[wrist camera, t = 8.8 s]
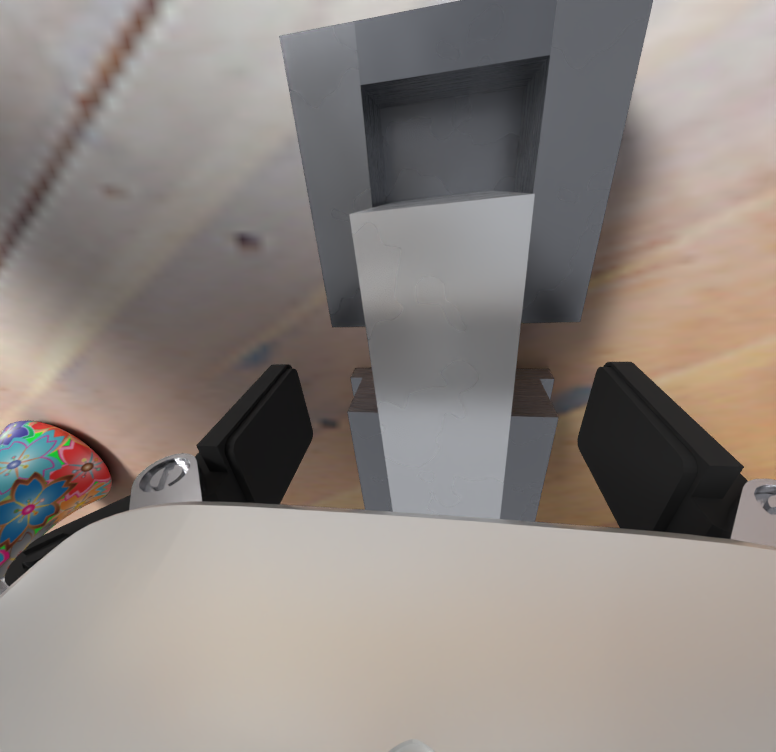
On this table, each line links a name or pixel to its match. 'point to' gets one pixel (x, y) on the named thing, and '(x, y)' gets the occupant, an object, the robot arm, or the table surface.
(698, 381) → the table surface
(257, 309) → the table surface
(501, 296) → the gray trapezoid plate
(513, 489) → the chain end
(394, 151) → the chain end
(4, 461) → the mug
